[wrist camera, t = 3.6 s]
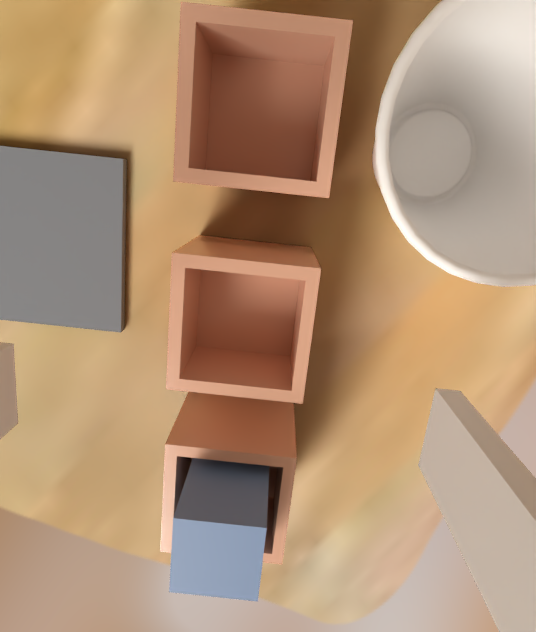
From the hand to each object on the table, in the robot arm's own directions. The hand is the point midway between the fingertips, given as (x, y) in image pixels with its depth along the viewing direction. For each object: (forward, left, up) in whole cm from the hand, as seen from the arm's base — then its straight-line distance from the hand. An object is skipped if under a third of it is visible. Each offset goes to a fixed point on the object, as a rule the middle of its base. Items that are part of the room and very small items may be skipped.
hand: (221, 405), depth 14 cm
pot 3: (+7, -5, -14) cm, 17 cm away
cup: (-2, +13, -14) cm, 19 cm away
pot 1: (-8, +6, -14) cm, 17 cm away
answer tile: (-9, -9, -14) cm, 19 cm away
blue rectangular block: (+7, -5, -11) cm, 15 cm away
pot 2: (0, 0, -14) cm, 14 cm away
